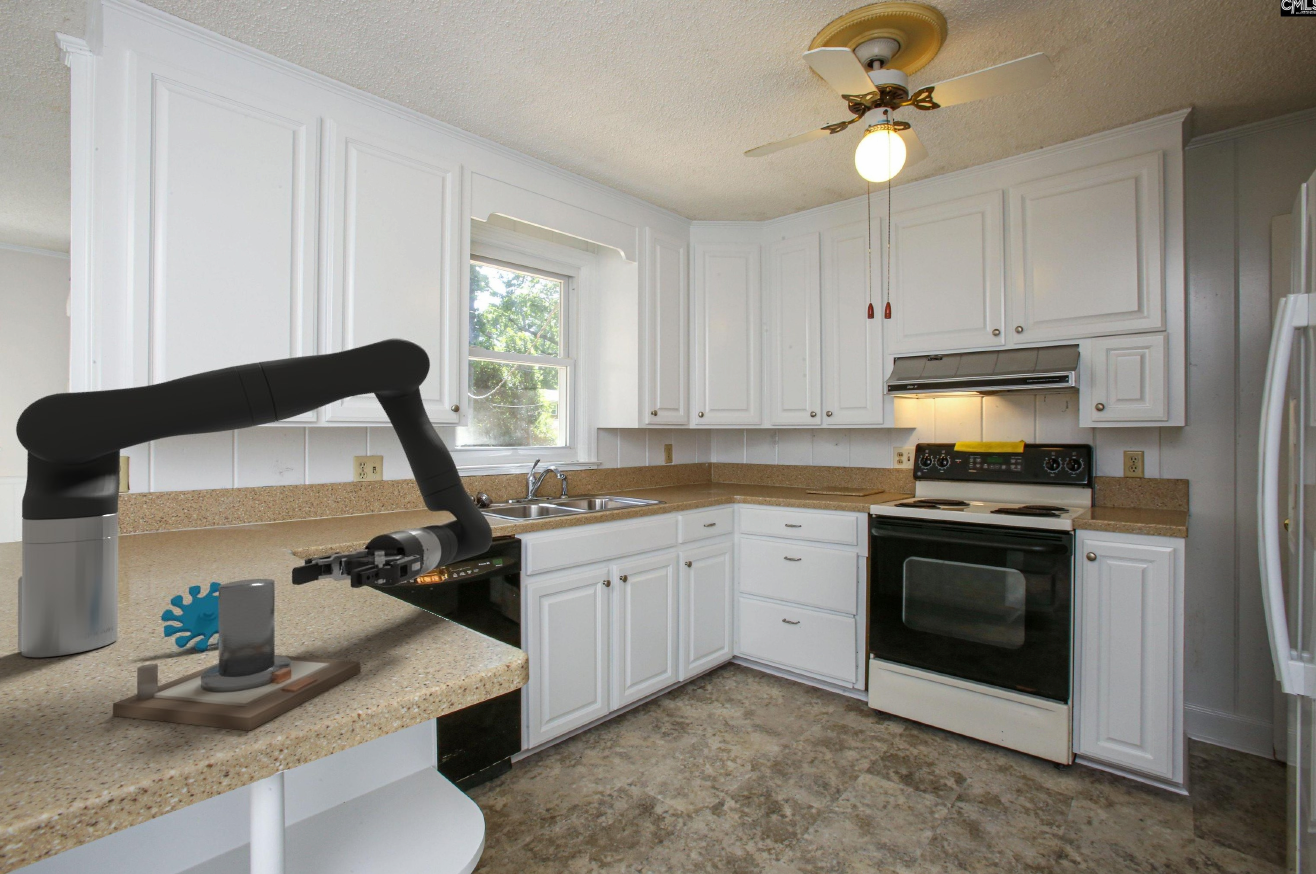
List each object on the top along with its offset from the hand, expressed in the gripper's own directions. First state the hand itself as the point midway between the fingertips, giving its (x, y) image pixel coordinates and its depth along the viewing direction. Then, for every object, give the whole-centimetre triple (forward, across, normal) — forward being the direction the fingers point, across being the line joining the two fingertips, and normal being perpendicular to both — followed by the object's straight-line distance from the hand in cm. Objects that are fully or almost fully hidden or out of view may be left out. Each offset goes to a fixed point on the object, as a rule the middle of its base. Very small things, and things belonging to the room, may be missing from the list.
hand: (323, 578), depth 77 cm
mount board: (+11, 0, +10) cm, 15 cm away
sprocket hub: (+11, 0, +8) cm, 14 cm away
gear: (-2, -19, +10) cm, 22 cm away
